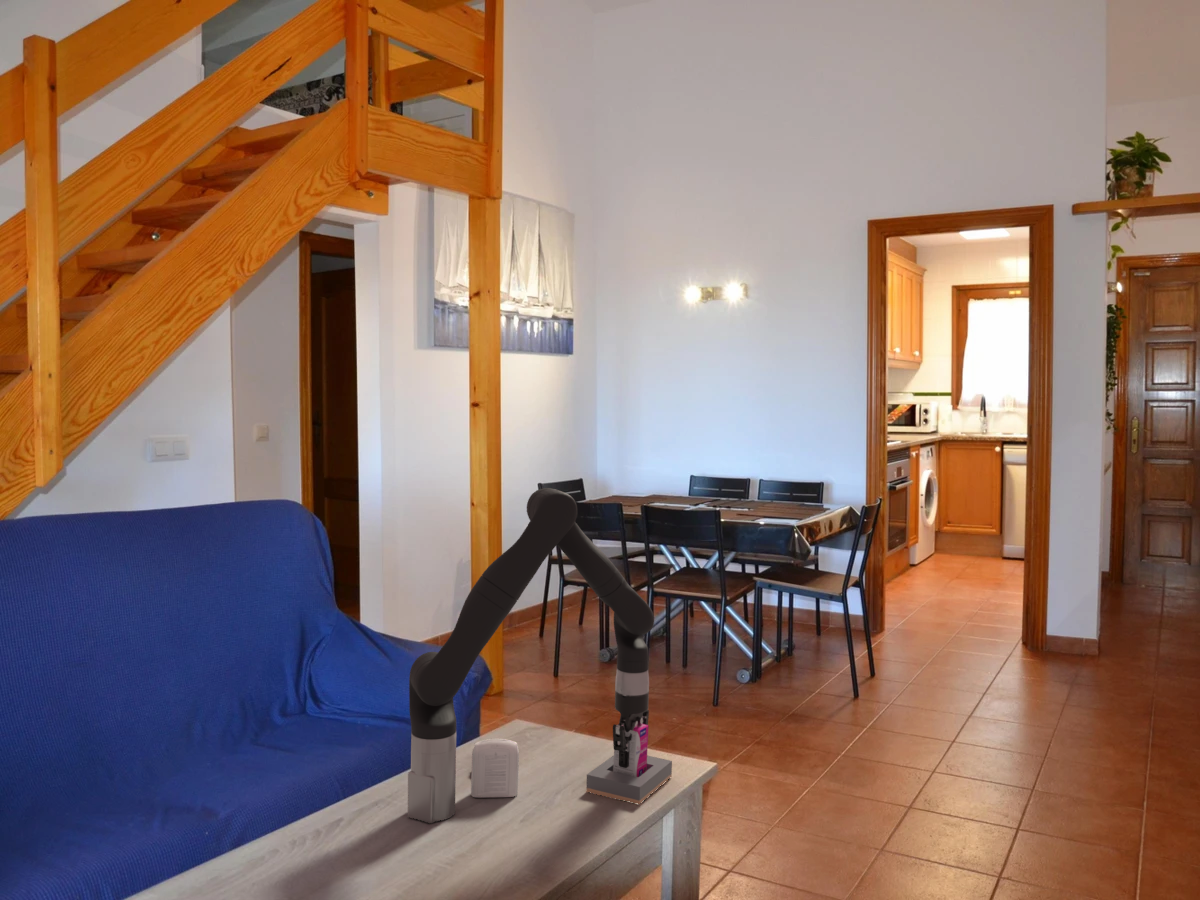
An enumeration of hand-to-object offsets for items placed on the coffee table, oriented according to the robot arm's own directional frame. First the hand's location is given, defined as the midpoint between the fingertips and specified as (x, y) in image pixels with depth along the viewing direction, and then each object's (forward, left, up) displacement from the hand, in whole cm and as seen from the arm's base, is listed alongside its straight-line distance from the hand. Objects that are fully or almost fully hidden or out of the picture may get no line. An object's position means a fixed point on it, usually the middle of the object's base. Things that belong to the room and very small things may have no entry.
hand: (630, 761), depth 219 cm
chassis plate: (0, 0, -5) cm, 5 cm away
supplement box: (0, 0, -3) cm, 3 cm away
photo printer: (-20, +23, -6) cm, 31 cm away
